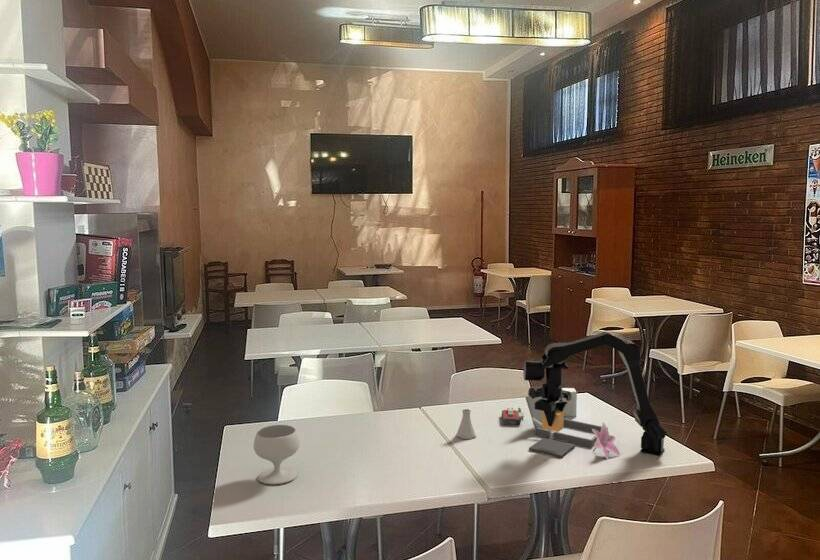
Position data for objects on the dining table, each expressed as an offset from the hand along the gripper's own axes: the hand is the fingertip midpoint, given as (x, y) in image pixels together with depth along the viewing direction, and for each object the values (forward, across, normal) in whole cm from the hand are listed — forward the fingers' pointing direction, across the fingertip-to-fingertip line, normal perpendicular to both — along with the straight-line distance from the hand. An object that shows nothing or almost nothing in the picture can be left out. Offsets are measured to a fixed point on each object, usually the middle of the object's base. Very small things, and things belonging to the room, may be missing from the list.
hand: (552, 424), depth 211 cm
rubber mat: (+9, 0, 0) cm, 9 cm away
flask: (+9, +7, -31) cm, 33 cm away
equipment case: (+9, -17, -2) cm, 20 cm away
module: (+2, 0, 0) cm, 2 cm away
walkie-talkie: (+10, -22, -26) cm, 36 cm away
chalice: (+9, +73, -60) cm, 95 cm away
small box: (+9, -39, -11) cm, 42 cm away
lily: (+9, -6, +16) cm, 20 cm away
